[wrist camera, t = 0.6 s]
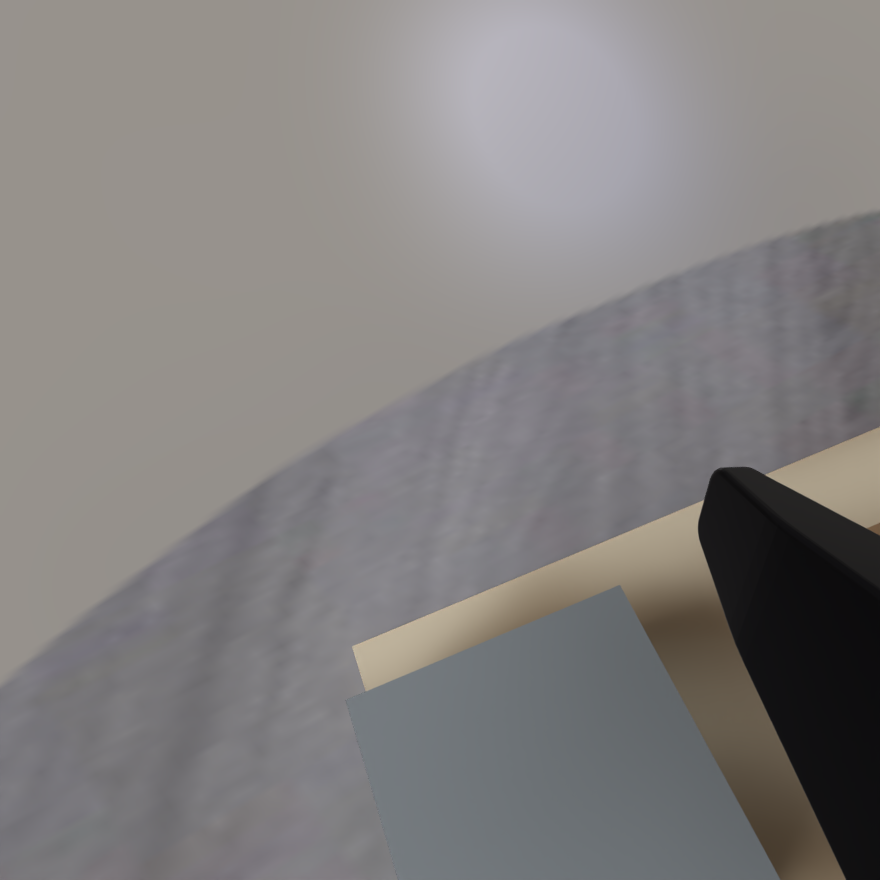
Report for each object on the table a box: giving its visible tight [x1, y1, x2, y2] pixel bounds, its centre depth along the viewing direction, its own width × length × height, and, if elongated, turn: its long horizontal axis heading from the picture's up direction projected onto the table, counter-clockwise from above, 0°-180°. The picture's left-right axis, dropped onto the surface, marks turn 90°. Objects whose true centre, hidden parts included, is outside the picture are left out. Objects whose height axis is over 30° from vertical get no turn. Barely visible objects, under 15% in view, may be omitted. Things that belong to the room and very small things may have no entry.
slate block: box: [346, 585, 780, 880], centre depth 21 cm, size 8×8×4 cm
